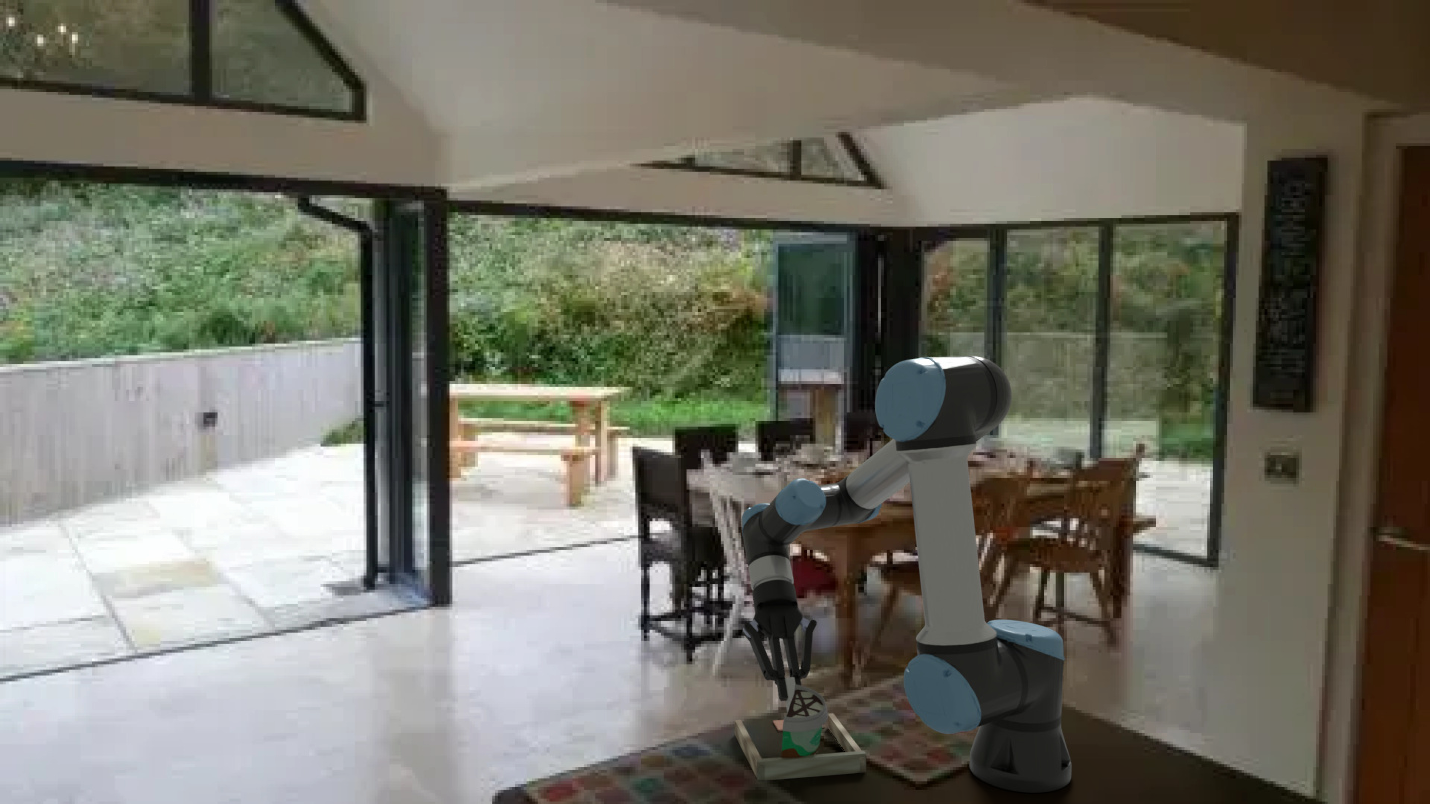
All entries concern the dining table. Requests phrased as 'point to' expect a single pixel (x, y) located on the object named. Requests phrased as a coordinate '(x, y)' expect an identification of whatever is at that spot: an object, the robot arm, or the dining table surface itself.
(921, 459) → the robot arm
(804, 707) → the food container
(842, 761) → the beige u-shaped frame
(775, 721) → the mat
